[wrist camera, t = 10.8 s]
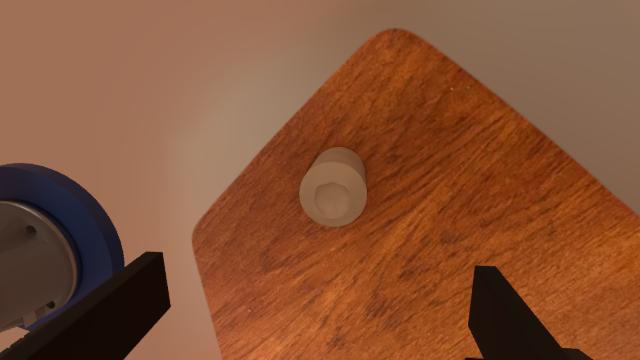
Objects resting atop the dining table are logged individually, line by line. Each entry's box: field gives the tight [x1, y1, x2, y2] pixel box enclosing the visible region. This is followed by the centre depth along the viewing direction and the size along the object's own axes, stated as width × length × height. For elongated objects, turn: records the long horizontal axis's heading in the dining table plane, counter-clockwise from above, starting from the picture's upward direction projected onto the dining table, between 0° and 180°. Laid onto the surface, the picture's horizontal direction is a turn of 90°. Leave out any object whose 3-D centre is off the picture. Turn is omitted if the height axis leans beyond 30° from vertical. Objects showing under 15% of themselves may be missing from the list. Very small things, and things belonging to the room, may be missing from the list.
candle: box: [299, 147, 367, 227], centre depth 29 cm, size 6×6×10 cm
